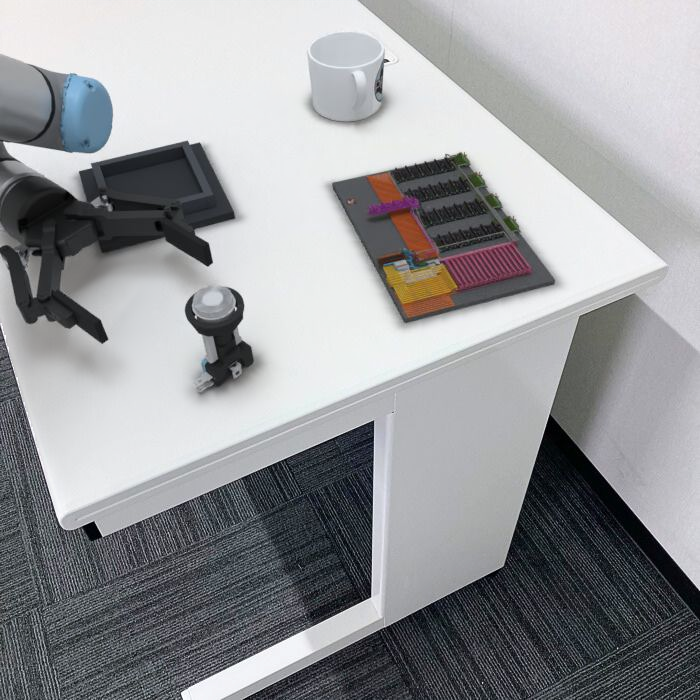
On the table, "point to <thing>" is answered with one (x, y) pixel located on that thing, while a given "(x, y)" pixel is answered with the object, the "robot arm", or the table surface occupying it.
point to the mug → (346, 75)
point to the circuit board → (439, 237)
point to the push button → (219, 333)
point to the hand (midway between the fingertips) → (157, 292)
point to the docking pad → (162, 185)
